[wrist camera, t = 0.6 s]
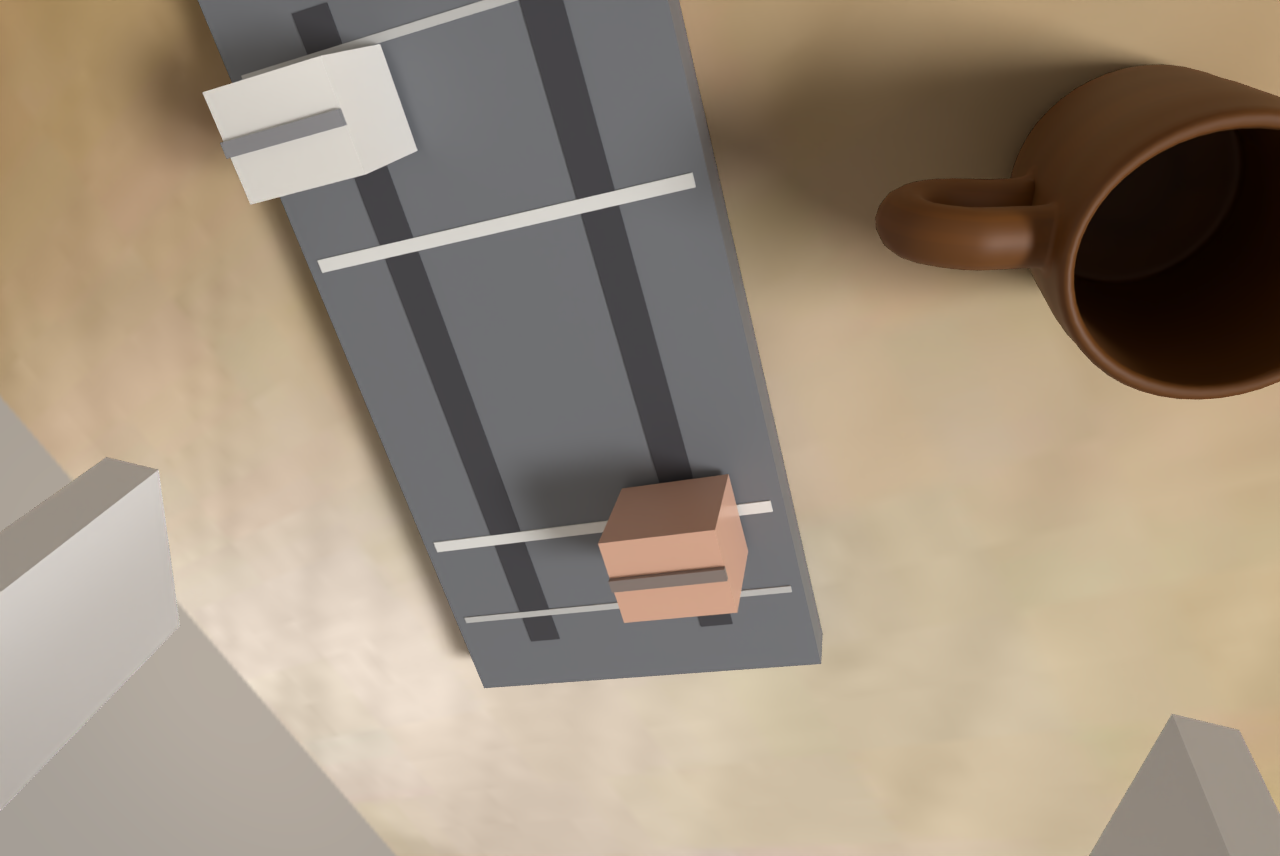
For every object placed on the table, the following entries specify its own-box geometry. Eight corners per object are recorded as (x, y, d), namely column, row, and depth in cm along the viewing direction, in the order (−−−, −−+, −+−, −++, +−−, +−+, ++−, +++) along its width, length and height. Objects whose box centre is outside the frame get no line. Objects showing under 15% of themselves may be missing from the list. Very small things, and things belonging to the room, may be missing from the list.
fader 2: (622, 488, 38) (596, 546, 34) (728, 474, 36) (714, 533, 33) (644, 562, 39) (623, 626, 35) (748, 551, 38) (736, 616, 34)
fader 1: (271, 77, 33) (198, 93, 29) (380, 44, 32) (317, 56, 28) (312, 178, 34) (247, 206, 31) (417, 150, 33) (362, 175, 29)
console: (217, -38, 34) (181, -37, 32) (636, -188, 29) (621, -197, 27) (498, 660, 46) (483, 688, 44) (822, 633, 42) (821, 664, 40)
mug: (858, 274, 34) (859, 376, 26) (886, 50, 31) (897, 87, 22) (1215, 300, 32) (1338, 422, 24) (1289, 63, 29) (1464, 110, 20)
